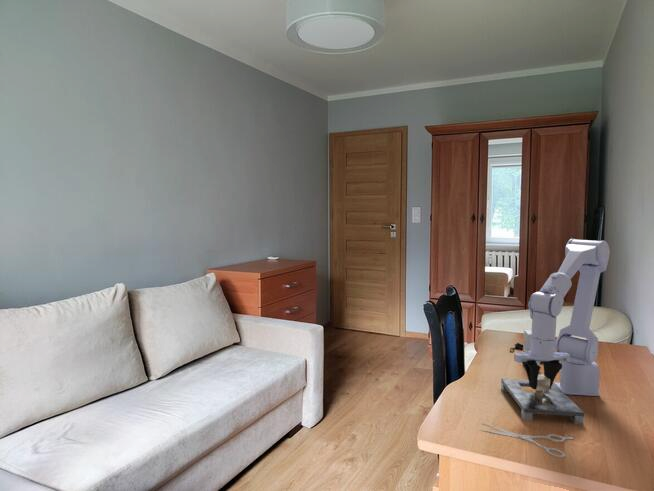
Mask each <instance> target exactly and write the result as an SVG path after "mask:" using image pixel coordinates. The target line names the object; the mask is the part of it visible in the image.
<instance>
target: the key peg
mask: <svg viewBox="0 0 654 491" xmlns="http://www.w3.org/2000/svg"><path fill="white" fill-rule="evenodd" d="M534 390H535V393H534V395H535V396H536V397H537V398H538V399H539V400H540V401H541V403H542V404H549V402H548V401H547V400H546V399H545V398H544V397H543V394H544V391H545V390H550V379H549V378H548V377H546V376H545V375H544V373H541V374H539V373H538V378H537V388H536V389H534Z"/></svg>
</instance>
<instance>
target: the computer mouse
mask: <svg viewBox="0 0 654 491" xmlns="http://www.w3.org/2000/svg"><path fill="white" fill-rule="evenodd" d="M515 350H519V351H523V344H521V343H519V342H516V343H515V344H514V347H510V348H509V351H510V352H511V353H515ZM540 365H543V361H540Z"/></svg>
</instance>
